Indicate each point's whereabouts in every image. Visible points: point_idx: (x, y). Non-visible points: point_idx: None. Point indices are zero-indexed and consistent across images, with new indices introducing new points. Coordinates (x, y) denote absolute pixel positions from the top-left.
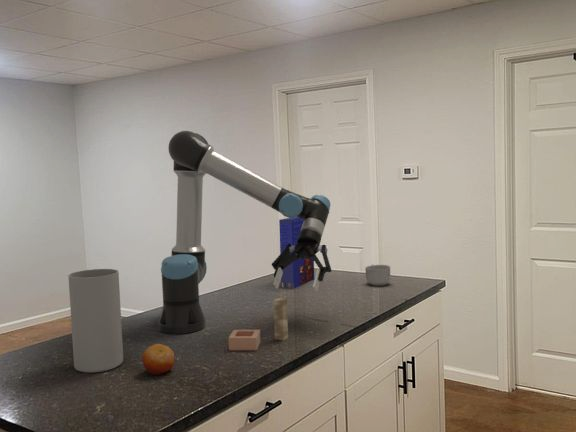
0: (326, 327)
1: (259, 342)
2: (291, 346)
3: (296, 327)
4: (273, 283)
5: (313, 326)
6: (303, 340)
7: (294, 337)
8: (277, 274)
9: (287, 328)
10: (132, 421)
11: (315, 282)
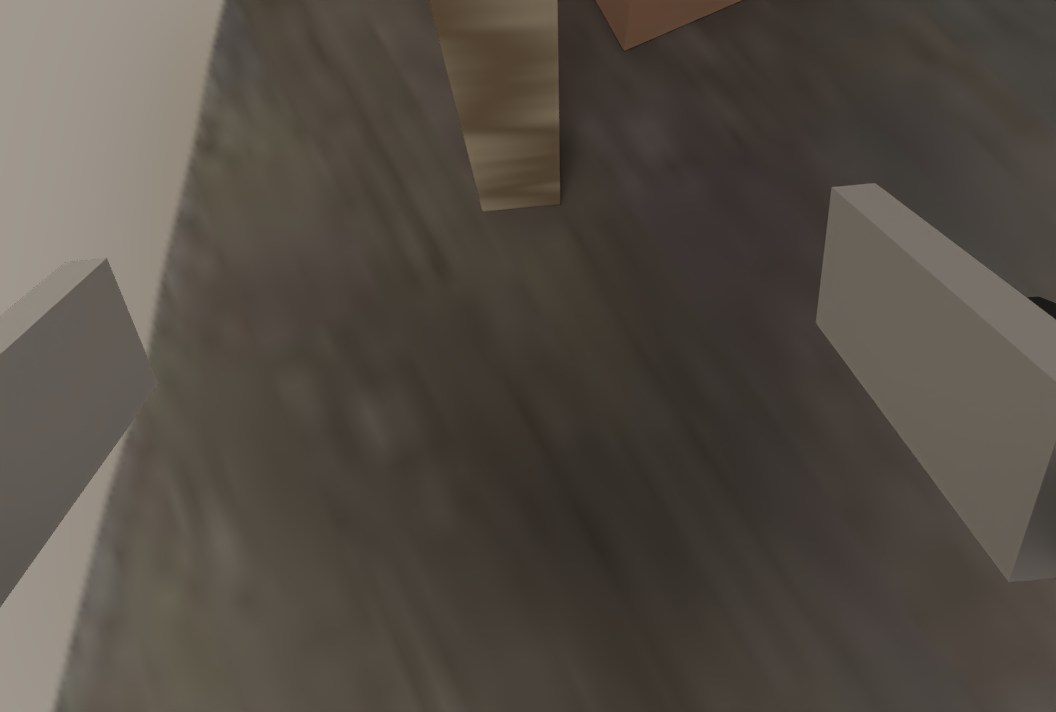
0: (298, 602)
1: (601, 3)
2: (362, 55)
3: (555, 488)
4: (875, 188)
5: (423, 583)
6: (339, 199)
7: (436, 234)
8: (960, 278)
9: (474, 173)
10: None
11: (28, 302)
